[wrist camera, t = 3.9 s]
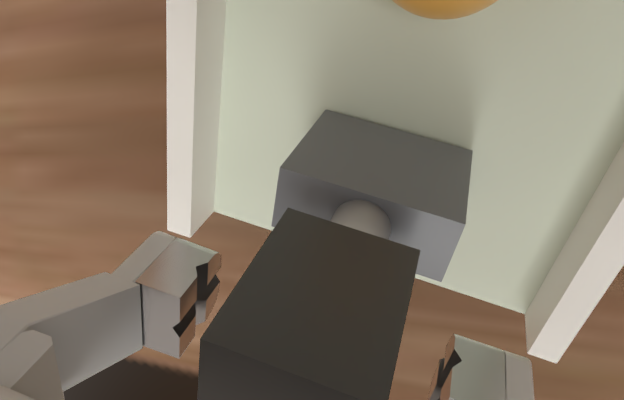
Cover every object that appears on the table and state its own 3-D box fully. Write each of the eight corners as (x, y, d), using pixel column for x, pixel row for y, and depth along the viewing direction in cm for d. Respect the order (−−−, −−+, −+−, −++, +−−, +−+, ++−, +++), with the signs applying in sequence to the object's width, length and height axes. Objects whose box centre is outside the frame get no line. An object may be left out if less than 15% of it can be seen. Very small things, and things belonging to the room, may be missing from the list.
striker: (478, 136, 16) (453, 434, 7) (448, 212, 18) (400, 528, 9) (328, 95, 17) (143, 317, 8) (314, 171, 18) (148, 423, 10)
